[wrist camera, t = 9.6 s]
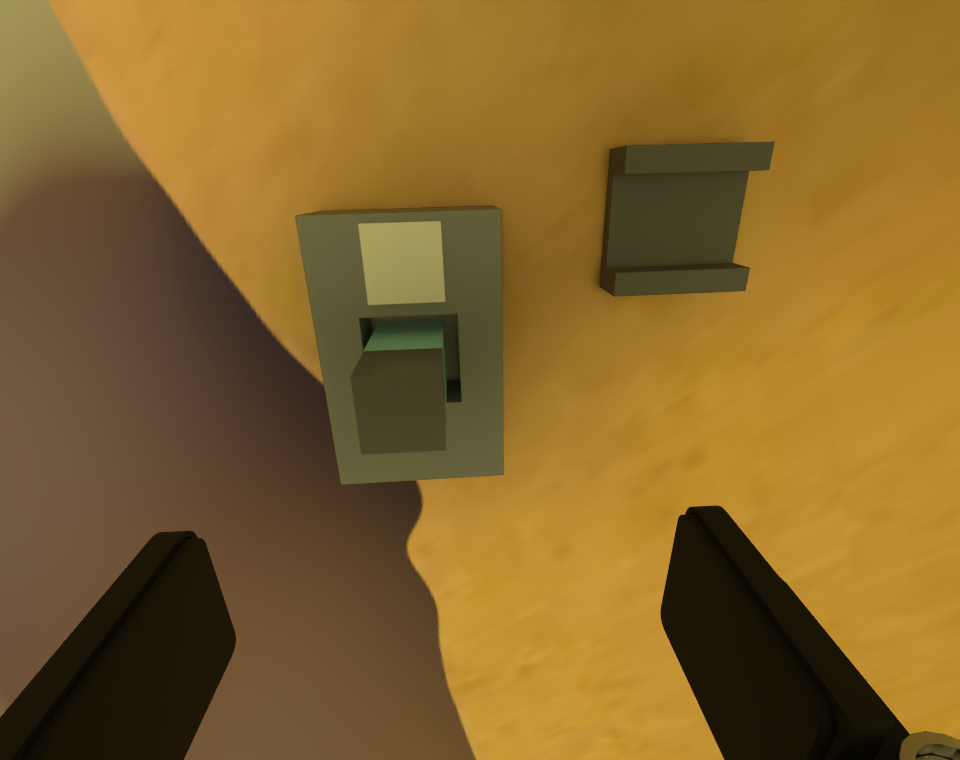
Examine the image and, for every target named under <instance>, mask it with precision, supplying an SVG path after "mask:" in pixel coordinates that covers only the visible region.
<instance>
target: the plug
mask: <svg viewBox="0 0 960 760" xmlns="http://www.w3.org/2000/svg"><path fill="white" fill-rule="evenodd" d="M350 379H351V386H352V393H353V401H354V408H355V415H356V422H357V429H358V436H359V443H360V450H361V455H369V454H388V453H408V452H427V451H446V394H447V374H446V355H445V337H444V318H439V319H413V320H386V321H379V322H378V324H377V326H376V328H375V330H374V331H373V333H372V335H371V337H370V339H369V341H368V343H367V345H366V347H365V349H364V351H363V353H362V355H361V357H360V359H359V361H358V363H357V365H356V366H355V368H354V370H353V372H352V374H351V376H350Z"/></svg>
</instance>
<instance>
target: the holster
mask: <svg viewBox="0 0 960 760" xmlns="http://www.w3.org/2000/svg"><path fill="white" fill-rule="evenodd" d="M773 147H774V142H745V143H706V144H668V145H630V146H623V147H618V148H614V149H610V162H609V175H608V189H607V202H606V216H605V229H604V243H603V256H602V270H601V284H600V287H601V288H602V289H604V290H605V291H607V292H608V293H610V294H611V295H613V296H637V295H661V294H685V293H709V292H733V291H745V290H746V285H747V280H748V275H749V269H750V268H749V267H745V266H741V265H738V264H734V263H732V262H733V257H734V251H735V246H736V240H737V235H738V229H739V224H740V218H741V213H742V207H743V202H744V196H745V191H746V185H747V180H748V174H749V171H756V170H769V168H770V163H771V157H772V152H773Z"/></svg>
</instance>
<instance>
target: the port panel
mask: <svg viewBox="0 0 960 760" xmlns="http://www.w3.org/2000/svg"><path fill="white" fill-rule="evenodd" d="M295 219H296V225H297V231H298V237H299V243H300V248H301V254H302V260H303V266H304V272H305V277H306V283H307V289H308V295H309V301H310V306H311V312H312V318H313V324H314V329H315V335H316V341H317V347H318V353H319V358H320V364H321V370H322V376H323V382H324V387H325V393H326V399H327V405H328V411H329V416H330V422H331V428H332V434H333V440H334V445H335V451H336V457H337V463H338V468H339V474H340V480H341V484H359V483H376V482H392V481H410V480H427V479H444V478H461V477H478V476H495V475H504V460H503V346H502V232H501V209H500V208H497V207H495V206H464V207H432V208H401V209H369V210H338V211H317V212H312V213H307V214H302V215H297V216H295ZM439 318H444V337H445V355H446V374H447V394H446V451H427V452H408V453H388V454H369V455H361V450H360V443H359V436H358V429H357V422H356V415H355V408H354V401H353V393H352V386H351V379H350V376H351V374H352V372H353V370H354V368H355V366H356V365H357V363H358V361H359V359H360V357H361V355H362V353H363V351H364V349H365V347H366V345H367V343H368V341H369V339H370V337H371V335H372V333H373V331H374V330H375V328H376V326H377V324H378V322H379V321H386V320H413V319H439Z"/></svg>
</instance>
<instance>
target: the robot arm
mask: <svg viewBox="0 0 960 760" xmlns="http://www.w3.org/2000/svg"><path fill="white" fill-rule="evenodd" d="M661 620H662V624H663V628H664V630H665V632H666V635H667V637H668V639H669V641H670V643H671V645H672V647H673V650H674V652H675V654H676V656H677V658H678V660H679V663H680V665H681V667H682V669H683V671H684V673H685V676H686V678H687V680H688V682H689V684H690V686H691V689H692V691H693V693H694V695H695V697H696V699H697V701H698V704H699V706H700V708H701V710H702V712H703V714H704V717H705V719H706V721H707V723H708V725H709V727H710V730H711V732H712V734H713V736H714V738H715V740H716V743H717V745H718V747H719V749H720V751H721V753H722V755H723V758H724V760H960V740H958V739H955V738H952V737H950V736H947V735H945V734H939V733H933V732H927V731H924V732H919V733H913V734H909V733H908V731H907V730H906V729H905V728H904V727H903V725H902V724H901V723H900V722H899V720H898V719H897V718H896V717H895V715H894V714H893V713H892V712H891V711H890V709H889V708H888V707H887V706H886V704H885V703H884V702H883V701H882V700H881V698H880V697H879V696H878V695H877V693H876V692H875V691H874V690H873V689H872V687H871V686H870V685H869V684H868V682H867V681H866V680H865V679H864V678H863V676H862V675H861V674H860V673H859V671H858V670H857V669H856V668H855V667H854V665H853V664H852V663H851V662H850V660H849V659H848V658H847V657H846V656H845V654H844V653H843V652H842V651H841V649H840V648H839V647H838V646H837V645H836V643H835V642H834V641H833V640H832V638H831V637H830V636H829V635H828V634H827V632H826V631H825V630H824V629H823V627H822V626H821V625H820V624H819V622H818V621H817V620H816V619H815V618H814V616H813V615H812V614H811V613H810V611H809V610H808V609H807V608H806V607H805V605H804V604H803V603H802V602H801V600H800V599H799V598H798V597H797V596H796V594H795V593H794V592H793V591H792V589H791V588H790V587H789V586H788V585H787V584H786V583H785V582H784V581H783V580H782V579H781V578H780V577H779V576H778V575H777V573H776V572H775V571H774V570H773V569H772V567H771V566H770V565H769V564H768V562H767V561H766V560H765V559H764V557H763V556H762V555H761V554H760V553H759V551H758V550H757V549H756V548H755V546H754V545H753V544H752V543H751V541H750V540H749V539H748V538H747V537H746V535H745V534H744V533H743V532H742V530H741V529H740V528H739V527H738V525H737V524H736V523H735V522H734V521H733V519H732V518H731V517H730V516H729V514H728V513H727V512H726V511H725V510H724V509H723V508H722V507H720V506H699V507H689V508H688V509H687V511H686V514H685V515H680V517H679V519H678V522H677V527H676V533H675V538H674V543H673V548H672V553H671V559H670V564H669V569H668V574H667V579H666V585H665V590H664V595H663V600H662V605H661ZM235 643H236V635H235V631H234V628H233V625H232V622H231V619H230V616H229V613H228V609H227V606H226V604H225V601H224V597H223V594H222V591H221V588H220V585H219V582H218V579H217V576H216V573H215V570H214V567H213V564H212V561H211V558H210V555H209V552H208V549H207V546H206V543H205V541H204V540H203V539H202V538H197V536H196V534H195V533H194V532H193V531H176V532H160V533H157V534H155V535H154V536H153V537H152V538H151V539H150V540H149V541H148V543H147V544H146V545H145V546H144V547H143V549H142V550H141V551H140V552H139V553H138V554H137V556H136V557H135V558H134V559H133V560H132V562H131V563H130V564H129V565H128V566H127V568H126V569H125V570H124V571H123V572H122V573H121V575H120V576H119V577H118V578H117V579H116V581H115V582H114V583H113V584H112V585H111V587H110V588H109V589H108V590H107V592H105V594H104V595H103V596H102V597H101V598H100V600H99V601H98V602H97V603H96V604H95V606H94V607H93V608H92V609H91V610H90V612H89V613H88V614H87V615H86V616H85V617H84V619H83V620H82V621H81V622H80V624H79V625H78V626H77V627H76V628H75V629H74V631H73V632H72V633H71V634H70V635H69V636H68V638H67V639H66V640H65V641H64V642H63V644H62V645H61V646H60V647H59V648H58V650H57V651H56V652H55V653H54V654H53V656H52V657H51V658H50V659H49V660H48V661H47V663H46V664H45V665H44V666H43V667H42V669H41V670H40V671H39V672H38V673H37V674H36V676H35V677H34V678H33V679H32V680H31V682H30V683H29V684H28V685H27V686H26V688H25V689H24V690H23V691H22V692H21V694H20V695H19V696H18V697H17V698H16V699H15V701H14V702H13V703H12V704H11V705H10V707H9V708H8V709H7V710H6V711H5V713H4V714H3V715H2V716H1V717H0V760H184V758H185V756H186V753H187V751H188V749H189V747H190V745H191V743H192V741H193V739H194V736H195V734H196V732H197V730H198V728H199V726H200V723H201V721H202V719H203V717H204V715H205V713H206V711H207V709H208V706H209V704H210V702H211V700H212V698H213V695H214V693H215V691H216V689H217V687H218V685H219V683H220V681H221V678H222V676H223V674H224V672H225V670H226V668H227V665H228V663H229V661H230V659H231V657H232V655H233V652H234V648H235Z"/></svg>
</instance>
